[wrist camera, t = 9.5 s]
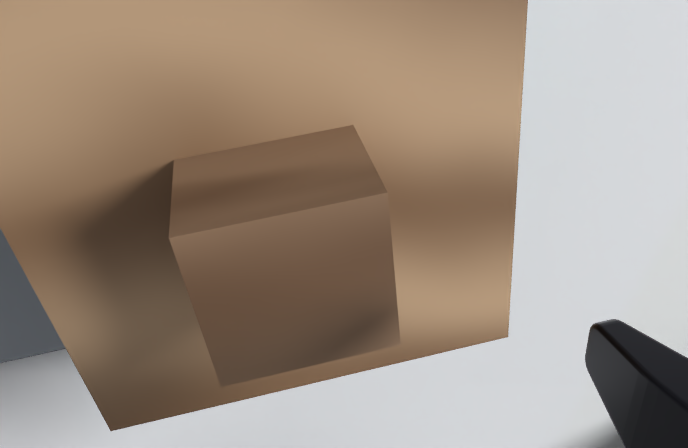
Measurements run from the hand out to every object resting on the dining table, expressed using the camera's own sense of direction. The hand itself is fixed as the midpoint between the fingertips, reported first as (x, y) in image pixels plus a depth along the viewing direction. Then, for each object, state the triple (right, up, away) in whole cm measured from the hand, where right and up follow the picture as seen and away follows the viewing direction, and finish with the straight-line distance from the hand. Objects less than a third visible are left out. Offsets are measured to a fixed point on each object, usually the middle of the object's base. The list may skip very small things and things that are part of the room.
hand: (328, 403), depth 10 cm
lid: (-1, +3, +5) cm, 7 cm away
